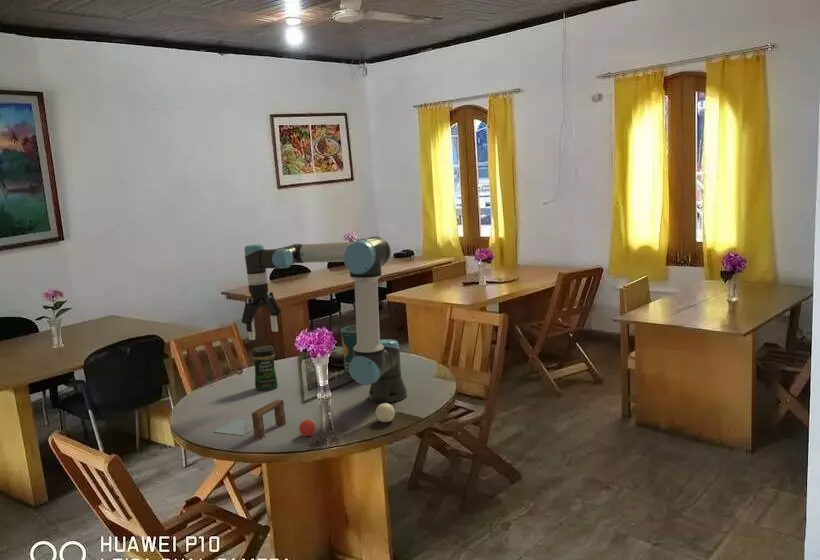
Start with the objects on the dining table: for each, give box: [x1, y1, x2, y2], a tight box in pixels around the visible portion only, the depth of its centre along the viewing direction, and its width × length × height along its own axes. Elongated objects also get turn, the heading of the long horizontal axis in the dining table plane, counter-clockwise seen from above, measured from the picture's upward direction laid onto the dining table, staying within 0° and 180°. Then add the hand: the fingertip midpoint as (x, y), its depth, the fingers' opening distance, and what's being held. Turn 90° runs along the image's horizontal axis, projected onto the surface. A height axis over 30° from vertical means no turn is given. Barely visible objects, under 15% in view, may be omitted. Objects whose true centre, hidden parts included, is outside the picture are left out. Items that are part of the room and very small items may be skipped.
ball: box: [298, 419, 316, 437], centre depth 243 cm, size 6×6×6 cm
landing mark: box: [213, 418, 253, 436], centre depth 257 cm, size 13×13×1 cm
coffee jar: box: [251, 345, 279, 391], centre depth 301 cm, size 10×8×19 cm
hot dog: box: [327, 346, 345, 368], centre depth 329 cm, size 18×11×8 cm, turn 47°
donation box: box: [340, 321, 381, 380], centre depth 311 cm, size 16×16×28 cm
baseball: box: [375, 402, 396, 423], centre depth 251 cm, size 7×7×7 cm
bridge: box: [251, 399, 287, 440], centre depth 250 cm, size 3×14×9 cm, turn 154°
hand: (263, 335), depth 281 cm, fingers open, 13 cm apart
